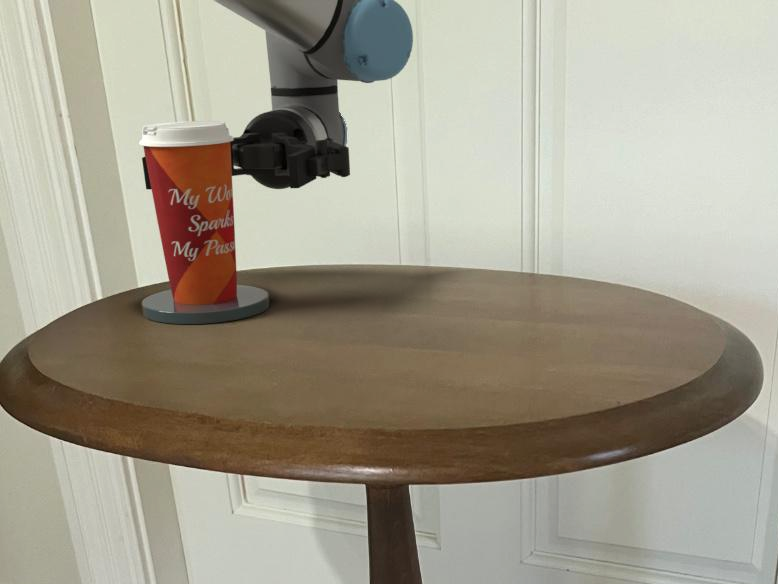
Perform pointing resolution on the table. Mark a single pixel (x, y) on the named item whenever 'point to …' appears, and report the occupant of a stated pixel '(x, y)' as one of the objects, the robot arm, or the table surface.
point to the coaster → (205, 307)
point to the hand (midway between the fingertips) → (219, 172)
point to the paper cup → (194, 207)
